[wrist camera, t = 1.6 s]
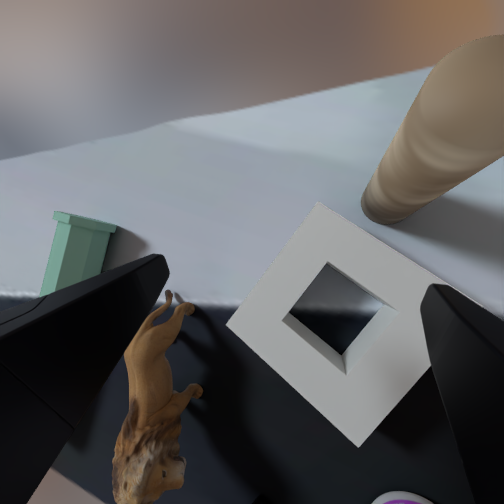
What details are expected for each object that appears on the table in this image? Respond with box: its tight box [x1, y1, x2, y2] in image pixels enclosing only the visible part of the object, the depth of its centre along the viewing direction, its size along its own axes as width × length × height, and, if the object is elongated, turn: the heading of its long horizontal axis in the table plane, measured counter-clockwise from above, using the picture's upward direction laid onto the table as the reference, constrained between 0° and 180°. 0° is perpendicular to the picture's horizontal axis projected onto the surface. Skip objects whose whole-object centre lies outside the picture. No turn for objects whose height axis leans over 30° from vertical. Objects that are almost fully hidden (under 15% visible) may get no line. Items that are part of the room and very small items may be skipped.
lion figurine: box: [112, 290, 203, 504], centre depth 19 cm, size 15×5×9 cm, turn 15°
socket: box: [226, 202, 483, 448], centre depth 18 cm, size 12×12×4 cm
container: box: [39, 211, 117, 297], centre depth 26 cm, size 6×6×25 cm
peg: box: [361, 35, 504, 225], centre depth 14 cm, size 4×4×12 cm
